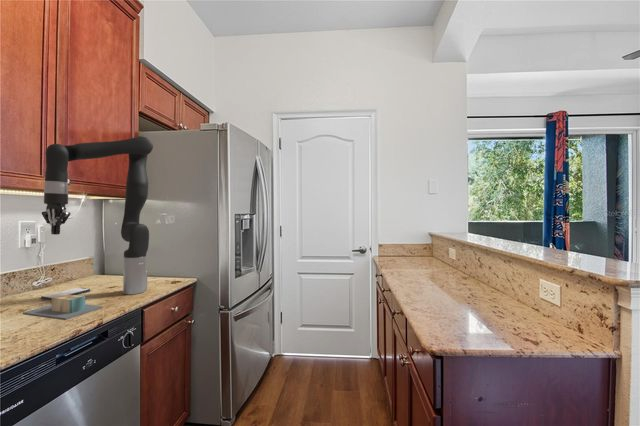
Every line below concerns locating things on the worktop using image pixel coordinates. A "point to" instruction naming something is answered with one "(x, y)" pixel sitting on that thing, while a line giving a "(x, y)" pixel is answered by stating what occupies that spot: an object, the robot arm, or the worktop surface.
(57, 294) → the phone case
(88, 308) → the slate mat
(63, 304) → the maple block
